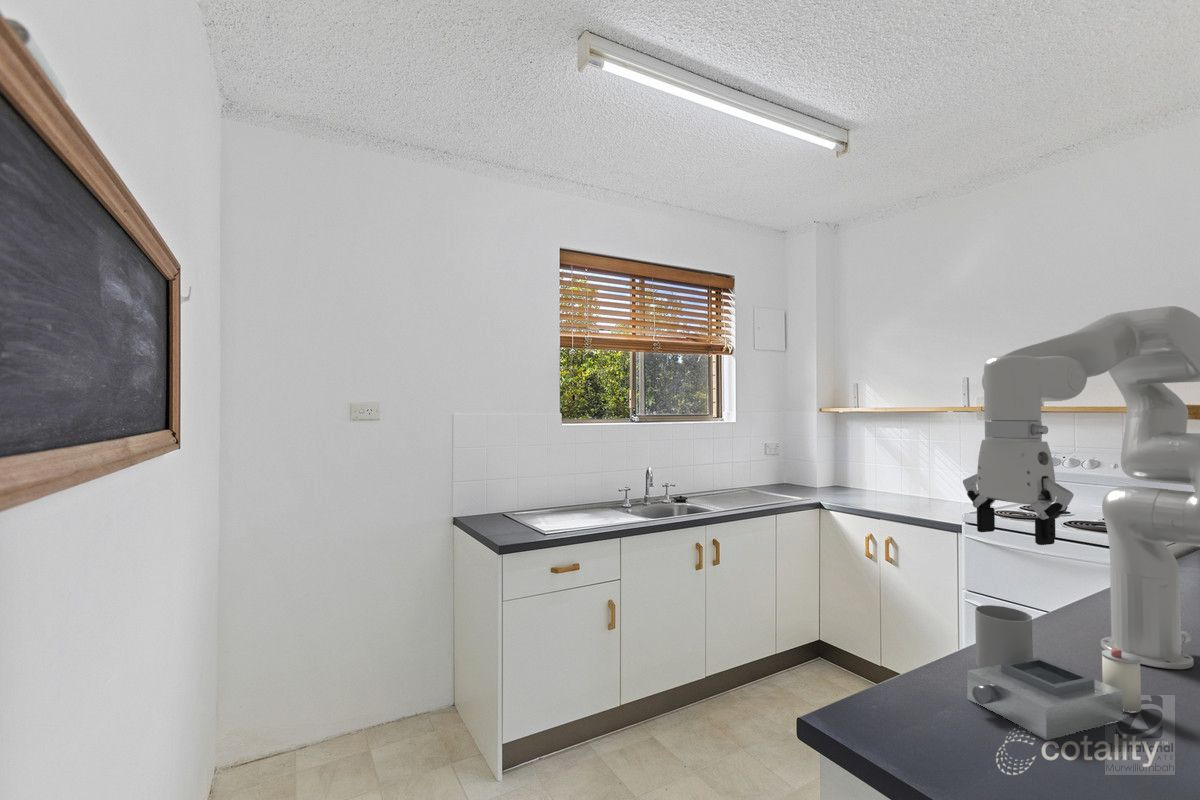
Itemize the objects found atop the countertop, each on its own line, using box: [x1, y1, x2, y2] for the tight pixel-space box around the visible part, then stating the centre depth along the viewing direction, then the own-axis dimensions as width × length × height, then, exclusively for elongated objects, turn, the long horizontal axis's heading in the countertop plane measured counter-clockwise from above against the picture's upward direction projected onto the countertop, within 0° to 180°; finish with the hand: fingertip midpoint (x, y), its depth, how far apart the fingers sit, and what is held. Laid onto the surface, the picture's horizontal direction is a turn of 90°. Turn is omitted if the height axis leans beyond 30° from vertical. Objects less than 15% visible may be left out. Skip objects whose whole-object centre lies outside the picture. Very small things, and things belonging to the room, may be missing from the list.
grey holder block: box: [966, 656, 1124, 741], centre depth 88 cm, size 18×12×6 cm, turn 108°
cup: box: [974, 604, 1034, 669], centre depth 102 cm, size 8×8×10 cm
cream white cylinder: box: [1101, 649, 1142, 711], centre depth 89 cm, size 4×4×9 cm
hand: (1014, 537), depth 92 cm, fingers open, 9 cm apart
